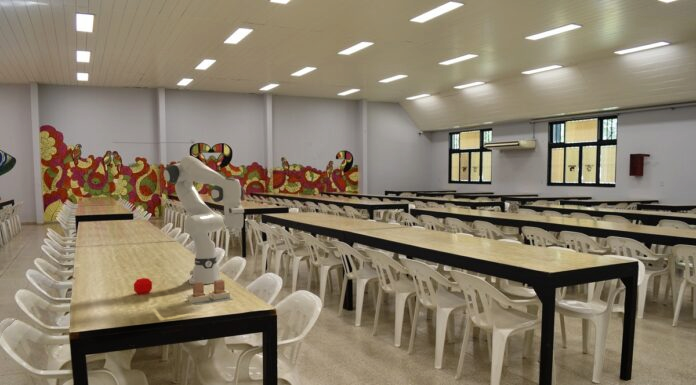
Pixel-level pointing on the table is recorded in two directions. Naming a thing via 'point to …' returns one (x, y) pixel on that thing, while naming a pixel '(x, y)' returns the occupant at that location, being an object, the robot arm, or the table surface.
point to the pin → (198, 289)
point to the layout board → (209, 298)
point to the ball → (142, 286)
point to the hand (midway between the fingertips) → (233, 235)
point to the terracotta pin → (219, 286)
